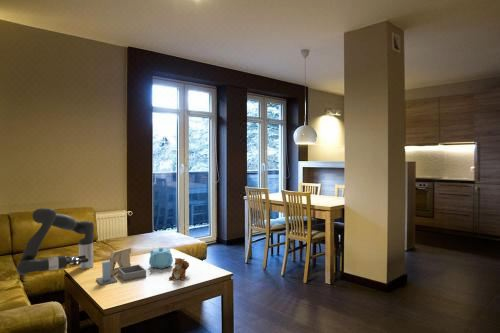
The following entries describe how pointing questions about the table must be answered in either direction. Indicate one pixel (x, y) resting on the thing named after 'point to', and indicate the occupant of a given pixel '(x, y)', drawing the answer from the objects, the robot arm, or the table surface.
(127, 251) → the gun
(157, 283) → the table surface
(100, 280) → the stud plate
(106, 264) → the strut
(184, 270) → the stuffed squirrel
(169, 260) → the decorative pot
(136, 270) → the bin
